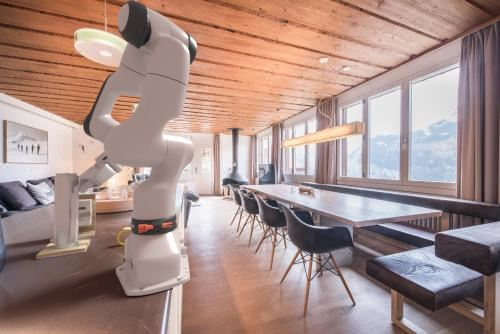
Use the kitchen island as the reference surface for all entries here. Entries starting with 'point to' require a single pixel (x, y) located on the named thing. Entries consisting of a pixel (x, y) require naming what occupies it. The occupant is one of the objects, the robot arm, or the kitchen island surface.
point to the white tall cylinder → (66, 210)
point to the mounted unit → (86, 216)
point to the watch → (121, 232)
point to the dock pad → (52, 252)
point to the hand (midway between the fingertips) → (76, 191)
